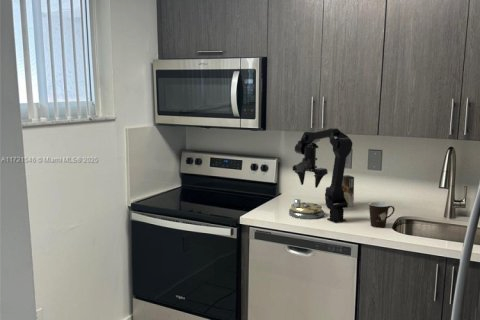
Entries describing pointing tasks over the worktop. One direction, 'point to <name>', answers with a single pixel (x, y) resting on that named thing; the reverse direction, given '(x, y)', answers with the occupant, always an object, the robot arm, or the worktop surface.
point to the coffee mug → (379, 214)
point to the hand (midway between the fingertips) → (309, 186)
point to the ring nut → (305, 207)
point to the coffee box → (348, 189)
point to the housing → (306, 215)
